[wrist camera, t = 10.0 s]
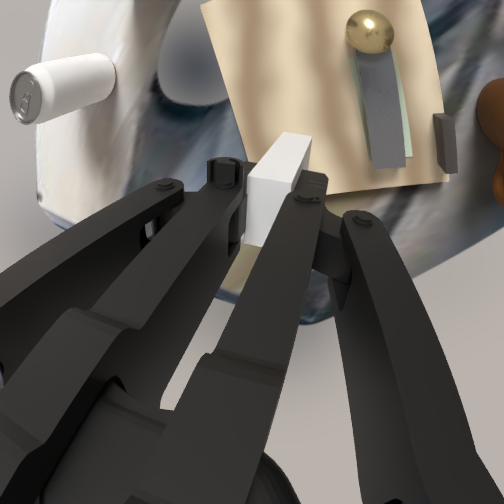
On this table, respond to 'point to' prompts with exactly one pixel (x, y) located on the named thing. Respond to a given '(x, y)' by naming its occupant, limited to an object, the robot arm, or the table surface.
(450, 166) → the latch board
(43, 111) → the can
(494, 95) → the mug
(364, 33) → the swing bar
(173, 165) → the table surface
